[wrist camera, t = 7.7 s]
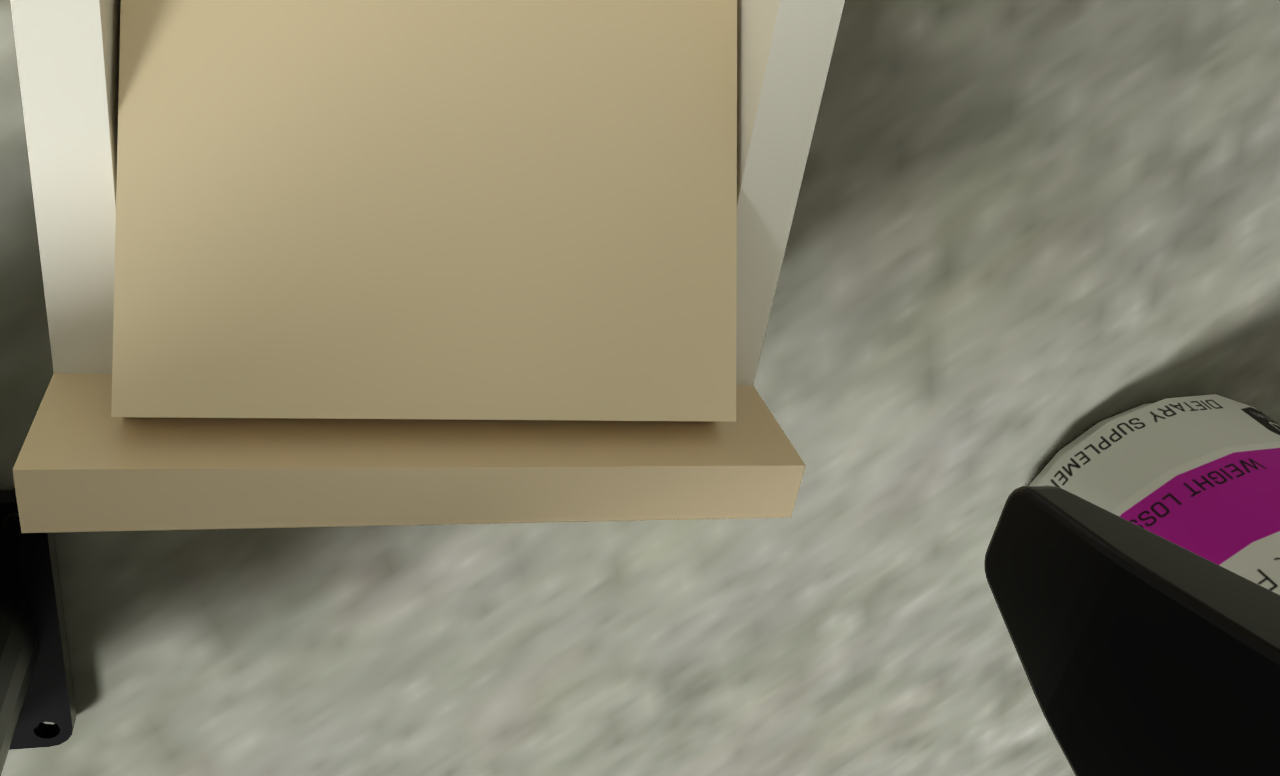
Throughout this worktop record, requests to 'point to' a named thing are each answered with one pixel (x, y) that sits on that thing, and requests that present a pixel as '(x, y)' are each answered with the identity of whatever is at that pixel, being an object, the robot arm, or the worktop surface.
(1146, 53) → the worktop surface
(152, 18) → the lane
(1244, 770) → the robot arm
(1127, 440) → the supplement can
